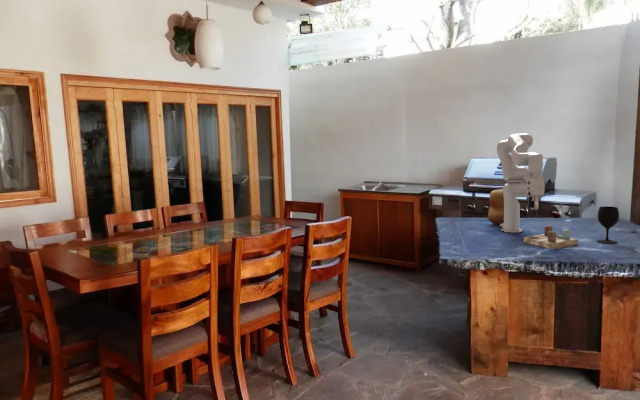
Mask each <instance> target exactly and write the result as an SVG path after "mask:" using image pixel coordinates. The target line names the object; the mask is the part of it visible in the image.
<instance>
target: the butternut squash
mask: <svg viewBox="0 0 640 400" xmlns="http://www.w3.org/2000/svg"><path fill="white" fill-rule="evenodd" d="M489 205H490V206H489V207H490V208H489V210H488V214H487V219H488V221H489V222H491V223H492V224H493V225H495V224H497V225H496V226H500V225H499V224H501V223H504V195H503V188H502V189H500V188H499V189H494V190H492V191H490V193H489Z"/></svg>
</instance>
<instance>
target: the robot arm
mask: <svg viewBox="0 0 640 400" xmlns="http://www.w3.org/2000/svg"><path fill="white" fill-rule="evenodd" d="M533 143H534V137H533V136H532V134H530V133H514V134H510V136H508V138H507V139H505V140H501V141H499V142H498V143H497V145H496V154H497V156H498V158H499V161H500V165H501V171H502V178H503V180H504V181H505V182H507V183H504V185H503V186H502V190H503V195H504V223H501V224H500V225H499V226H500V227H502V228H501V230H500V231H502V232H503V231H504V233H509V232H510V233H511V234H513V233H514V234H517V233H521V232H523V229H522V228H520V226H521V225H520V223H521V222H520V219H521V218H520V216H521V214H520V213H521V212H520V211H521V210H520V209H521V204H520V202H519V201H518V199H517V198H527V199H528V207H529V208H530V209H531V208H534V201H533V200H534V196H537V195H539V203H538V208H540V207H541V200H542V198H543V196H544V195H545V191H546V189H545V180H544V177H543V169H544V167H543V166H544V164H543V163H544V156H543V154H542V153H538V152H528V151H529V149H530V148H531V147H532V146H533ZM509 153H510V154H509ZM531 196H532V198H531Z"/></svg>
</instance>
